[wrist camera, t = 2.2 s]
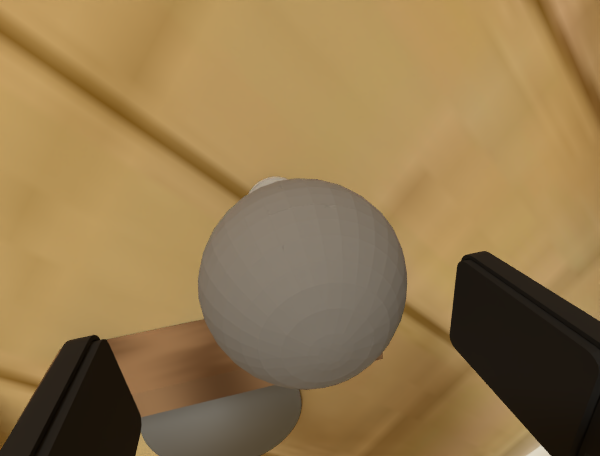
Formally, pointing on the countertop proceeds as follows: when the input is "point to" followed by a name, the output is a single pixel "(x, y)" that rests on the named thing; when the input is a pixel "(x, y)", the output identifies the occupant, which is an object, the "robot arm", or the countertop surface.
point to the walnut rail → (178, 368)
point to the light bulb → (302, 283)
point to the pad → (225, 424)
